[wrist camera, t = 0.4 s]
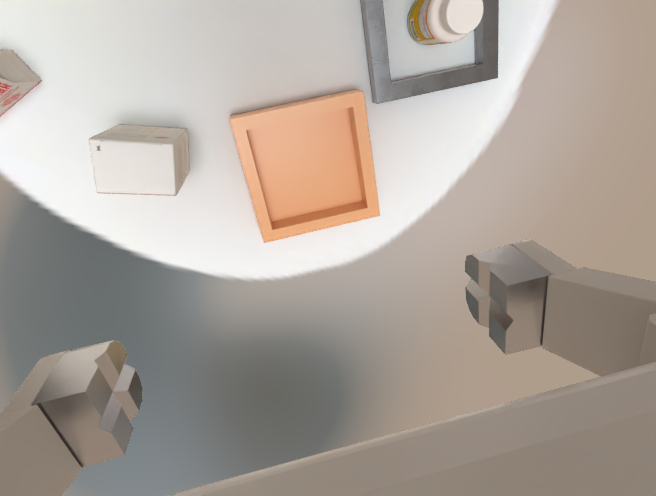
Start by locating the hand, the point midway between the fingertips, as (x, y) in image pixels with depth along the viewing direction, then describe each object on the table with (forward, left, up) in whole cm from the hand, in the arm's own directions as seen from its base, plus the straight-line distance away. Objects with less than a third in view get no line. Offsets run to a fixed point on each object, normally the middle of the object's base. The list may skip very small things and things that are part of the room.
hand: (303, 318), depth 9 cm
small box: (+2, -14, -46) cm, 48 cm away
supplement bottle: (-6, +22, -45) cm, 51 cm away
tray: (+8, +4, -45) cm, 46 cm away
